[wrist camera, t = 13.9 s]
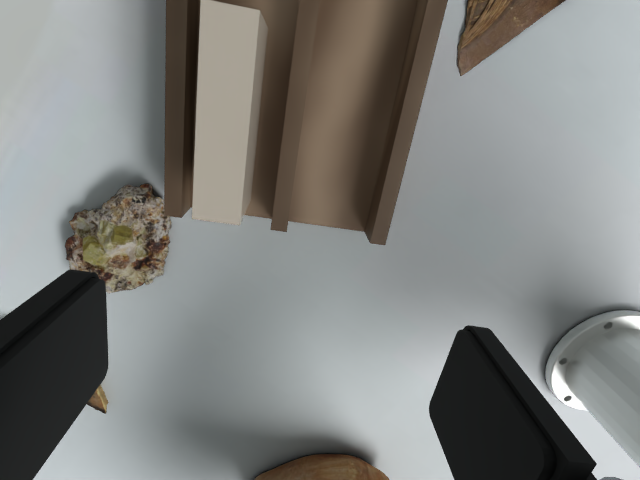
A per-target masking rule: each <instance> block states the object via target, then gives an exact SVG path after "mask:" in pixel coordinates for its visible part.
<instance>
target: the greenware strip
mask: <svg viewBox="0 0 640 480" xmlns="http://www.w3.org/2000/svg"><path fill="white" fill-rule="evenodd" d="M267 36H268V27H267V25H266V22H265V20H264V18H263V16H262V14H261V12H260V10H256V9H251V8H246V7H242V6H237V5H232V4H227V3H222V2H217V1H212V0H201V3H200V28H199V53H198V78H197V103H196V129H195V154H194V179H193V204H192V219H196V220H203V221H211V222H218V223H225V224H233V225H240V224H241V222H242V219H243V217H244V215H245V212H246V210H247V207H248V205H249V203H250V200H251V193H252V183H253V174H254V164H255V154H256V144H257V134H258V124H259V115H260V105H261V95H262V85H263V75H264V65H265V55H266V46H267Z"/></svg>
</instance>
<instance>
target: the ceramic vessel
mask: <svg viewBox="0 0 640 480" xmlns="http://www.w3.org/2000/svg"><path fill="white" fill-rule="evenodd" d="M254 480H389V478H388V477H387V476H386V475H385V474H384V473H382V472H381V471H380V470H378V469H377V468H375V467H373V466H372V465H370V464H368V463H367V462H365V461H363V460H362V459H360V458H358V457H354V456H350V455H344V454H317V455H310V456H306V457H301V458H299V459H296V460H293V461H290V462H288V463H285V464H283V465H281V466H279V467H276V468H274V469H272V470H270V471H267V472H265V473H262V474H260V475H259V476H257V477H256V478H255V479H254Z"/></svg>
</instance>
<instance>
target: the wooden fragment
mask: <svg viewBox="0 0 640 480" xmlns="http://www.w3.org/2000/svg"><path fill="white" fill-rule="evenodd" d="M564 1H565V0H468V7H467V16H466V20H465V25H466V29H465V31H464V32H463V34H462V35H461V38H460V42H459V44H458V58H457V59H458V68H459V71H460V76H462V75H463V74H465V73H466V72H468V71H469V70H471V69H472V68H473V67H474V66H476V65H477V64H479V63H480V62H481V61H482V60H484V59H485V58H487V57H488V56H489V55H491V54H492V53H494V52H495V51H497V50H498V49H499V48H501V47H502V46H503V45H505V44H506V43H507V42H509V41H510V40H511V39H513V38H514V37H515V36H517V35H519V34H520V33H521V32H522V31H523V30H525V29H526V28H528V27H529V26H531V25H532V24H533V23H535V22H536V21H537V20H539V19H540V18H541V17H543V16H544V15H545V14H547V13H548V12H549V11H551V10H552V9H554V8H555V7H557V6H558V5H560V4H561V3H562V2H564Z"/></svg>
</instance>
